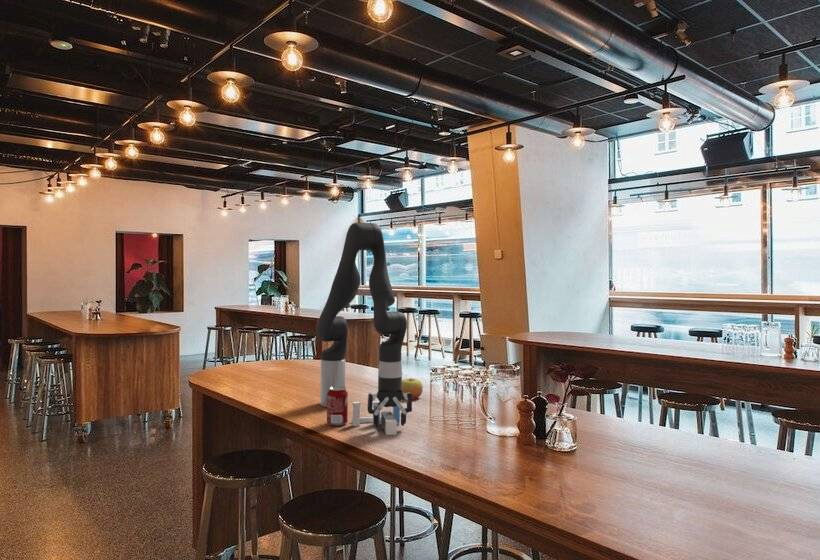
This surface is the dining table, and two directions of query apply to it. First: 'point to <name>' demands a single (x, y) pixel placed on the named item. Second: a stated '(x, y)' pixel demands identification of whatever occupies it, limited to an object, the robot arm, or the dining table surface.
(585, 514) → the dining table surface
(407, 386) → the apple
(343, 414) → the soda can
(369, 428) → the dining table surface
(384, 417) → the grey rectangular bar
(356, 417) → the upright peg stand
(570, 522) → the dining table surface
